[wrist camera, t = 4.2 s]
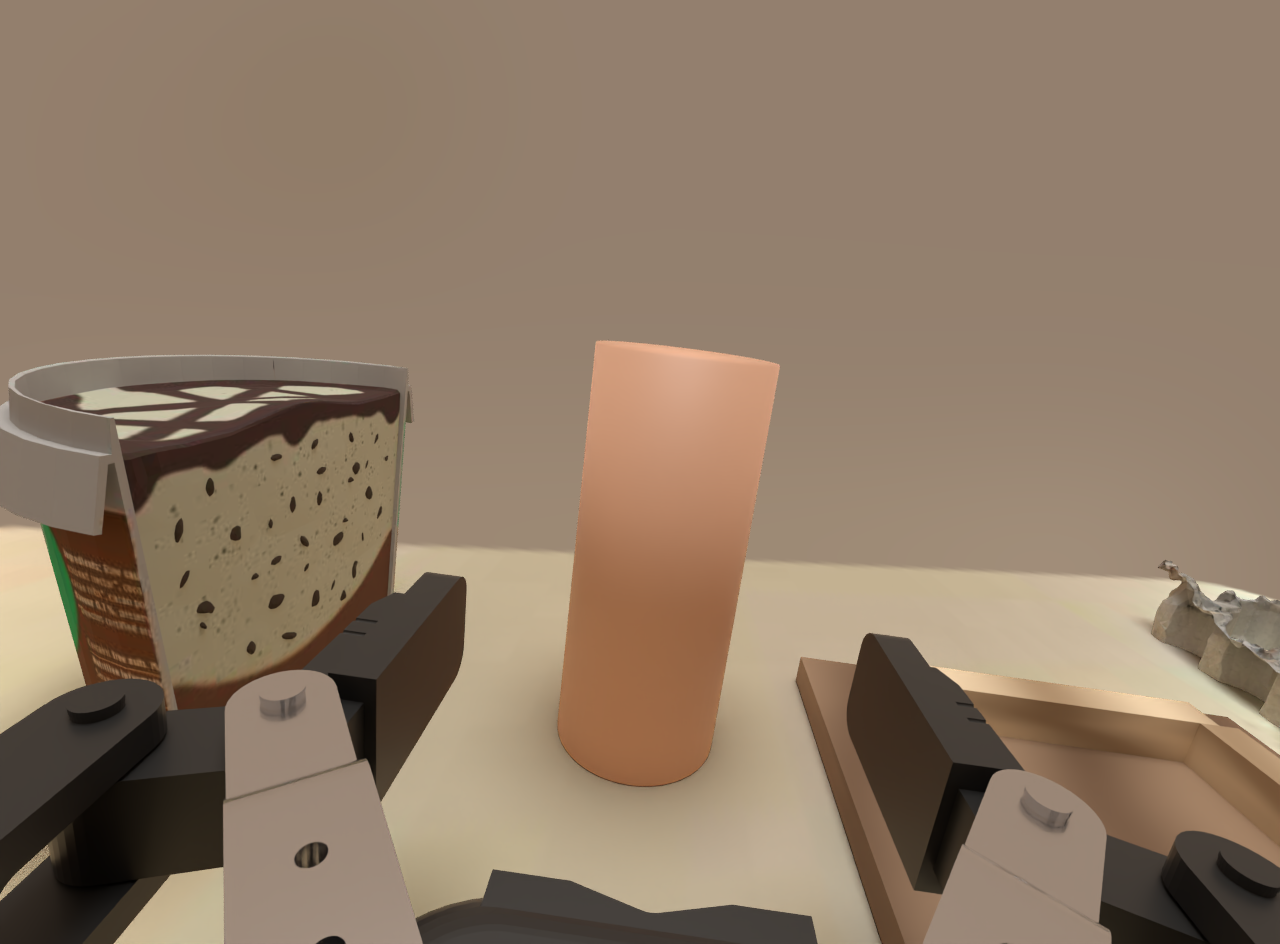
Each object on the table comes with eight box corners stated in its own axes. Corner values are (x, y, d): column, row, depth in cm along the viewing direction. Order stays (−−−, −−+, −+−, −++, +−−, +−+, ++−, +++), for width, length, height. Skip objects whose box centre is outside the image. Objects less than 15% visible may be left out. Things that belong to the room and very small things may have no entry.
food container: (266, 588, 25) (256, 345, 22) (409, 611, 24) (415, 366, 22) (-130, 834, 13) (-249, 374, 10) (136, 886, 13) (79, 422, 10)
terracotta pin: (707, 690, 22) (765, 358, 19) (716, 798, 17) (796, 372, 14) (572, 671, 22) (606, 338, 19) (542, 771, 17) (582, 345, 14)
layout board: (1217, 739, 23) (1242, 682, 22) (2024, 1371, 9) (2153, 1271, 8) (796, 679, 23) (808, 621, 22) (965, 1196, 9) (1009, 1087, 9)
